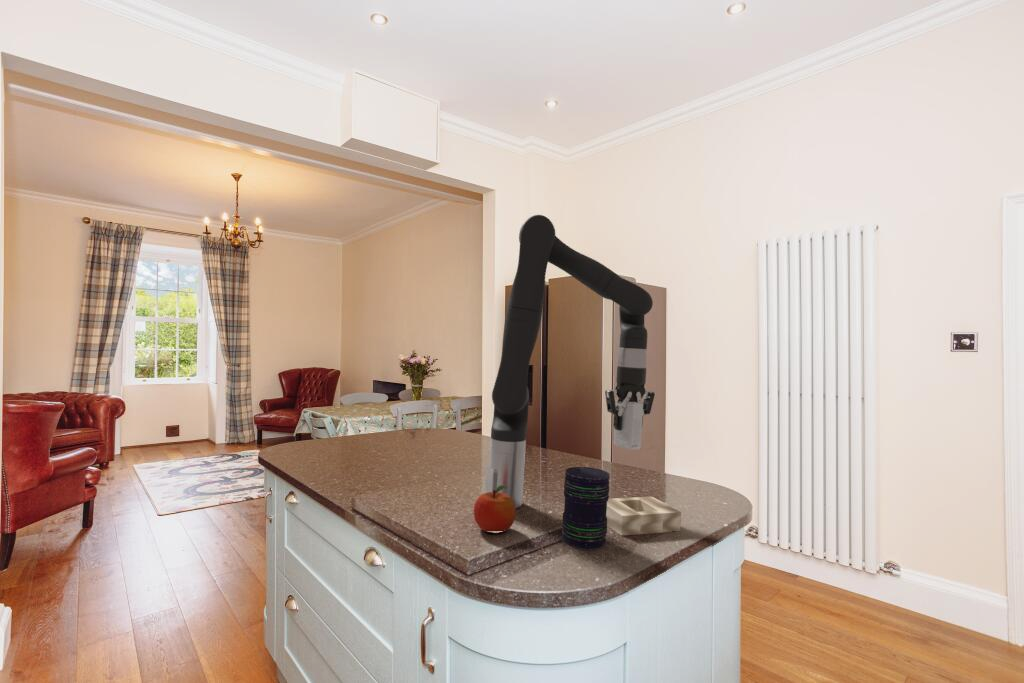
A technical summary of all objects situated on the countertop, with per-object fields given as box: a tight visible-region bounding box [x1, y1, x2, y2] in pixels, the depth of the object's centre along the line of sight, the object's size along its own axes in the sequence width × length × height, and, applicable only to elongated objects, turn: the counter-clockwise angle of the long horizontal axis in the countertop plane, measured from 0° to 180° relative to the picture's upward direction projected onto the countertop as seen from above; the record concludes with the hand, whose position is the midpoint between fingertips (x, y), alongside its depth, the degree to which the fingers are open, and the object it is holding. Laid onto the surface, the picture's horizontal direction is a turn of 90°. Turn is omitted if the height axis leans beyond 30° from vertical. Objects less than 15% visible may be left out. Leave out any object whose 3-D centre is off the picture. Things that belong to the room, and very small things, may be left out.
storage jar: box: [561, 466, 611, 551], centre depth 111 cm, size 10×10×15 cm
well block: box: [606, 496, 682, 536], centre depth 123 cm, size 16×12×4 cm
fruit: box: [473, 485, 517, 532], centre depth 114 cm, size 10×10×10 cm
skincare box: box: [613, 400, 643, 451], centre depth 133 cm, size 6×4×12 cm
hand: (627, 429), depth 133 cm, fingers closed on skincare box, 5 cm apart
